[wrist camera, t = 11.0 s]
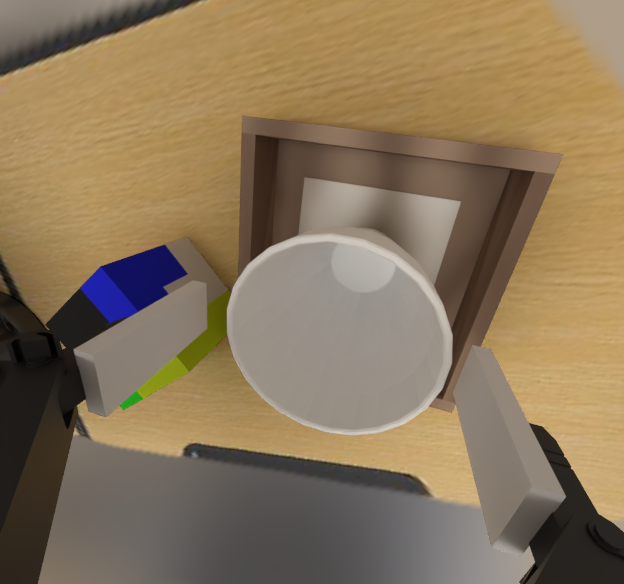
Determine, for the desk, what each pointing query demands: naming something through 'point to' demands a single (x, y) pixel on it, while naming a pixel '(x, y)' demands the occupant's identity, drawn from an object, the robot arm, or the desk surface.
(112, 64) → the desk surface
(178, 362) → the puzzle toy
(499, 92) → the desk surface
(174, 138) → the desk surface
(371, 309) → the cup
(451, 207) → the walled box
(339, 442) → the desk surface
